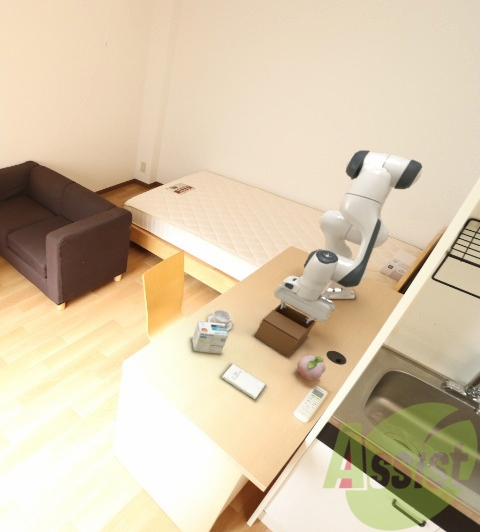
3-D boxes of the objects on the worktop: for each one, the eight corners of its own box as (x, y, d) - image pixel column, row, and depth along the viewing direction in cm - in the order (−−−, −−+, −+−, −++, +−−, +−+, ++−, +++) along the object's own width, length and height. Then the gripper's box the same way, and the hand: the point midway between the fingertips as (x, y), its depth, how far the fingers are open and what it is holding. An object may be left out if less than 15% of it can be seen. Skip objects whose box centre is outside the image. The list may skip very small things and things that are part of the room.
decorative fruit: (298, 362, 137) (309, 344, 131) (321, 375, 132) (333, 358, 126) (288, 375, 132) (299, 357, 126) (311, 390, 127) (323, 372, 121)
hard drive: (254, 400, 123) (221, 378, 129) (264, 386, 127) (231, 365, 134) (256, 397, 122) (222, 375, 128) (265, 383, 126) (233, 362, 133)
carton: (273, 318, 156) (282, 301, 150) (306, 337, 148) (317, 319, 142) (254, 336, 147) (263, 318, 141) (287, 357, 139) (298, 339, 132)
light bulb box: (217, 341, 144) (225, 322, 137) (221, 354, 138) (229, 335, 132) (191, 338, 144) (197, 320, 138) (193, 351, 139) (200, 332, 133)
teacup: (223, 335, 146) (226, 327, 144) (202, 321, 153) (205, 313, 150) (236, 325, 152) (239, 317, 149) (216, 312, 158) (218, 304, 155)
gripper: (341, 300, 131) (324, 326, 139) (286, 273, 143) (273, 299, 151) (334, 307, 127) (317, 334, 136) (278, 279, 140) (266, 305, 148)
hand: (294, 315), depth 143 cm, fingers open, 8 cm apart
